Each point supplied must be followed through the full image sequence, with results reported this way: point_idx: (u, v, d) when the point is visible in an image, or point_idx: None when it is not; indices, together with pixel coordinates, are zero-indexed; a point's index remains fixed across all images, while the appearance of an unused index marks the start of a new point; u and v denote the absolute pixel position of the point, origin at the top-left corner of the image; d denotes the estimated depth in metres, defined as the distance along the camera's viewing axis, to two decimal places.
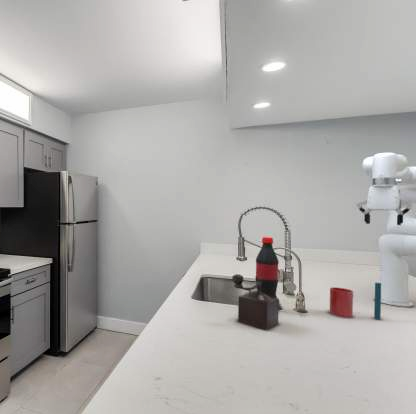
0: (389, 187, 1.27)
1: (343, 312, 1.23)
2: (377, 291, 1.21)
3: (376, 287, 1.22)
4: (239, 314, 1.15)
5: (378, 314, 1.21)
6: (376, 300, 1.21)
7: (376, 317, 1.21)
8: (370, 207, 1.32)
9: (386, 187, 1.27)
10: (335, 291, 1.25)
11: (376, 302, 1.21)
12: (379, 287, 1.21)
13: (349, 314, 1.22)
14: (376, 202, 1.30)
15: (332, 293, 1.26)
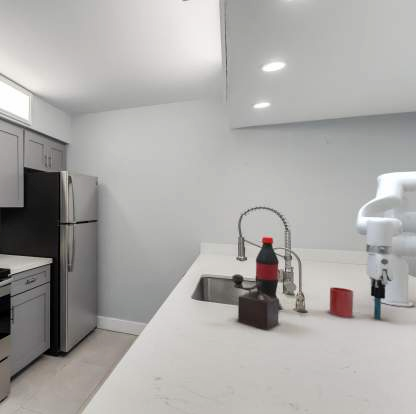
0: (373, 255, 1.21)
1: (343, 312, 1.23)
2: None
3: None
4: (239, 314, 1.15)
5: (378, 314, 1.21)
6: (376, 300, 1.21)
7: (376, 317, 1.21)
8: (367, 273, 1.26)
9: (372, 255, 1.22)
10: (335, 291, 1.25)
11: (376, 302, 1.21)
12: None
13: (349, 314, 1.22)
14: (368, 269, 1.24)
15: (332, 293, 1.26)
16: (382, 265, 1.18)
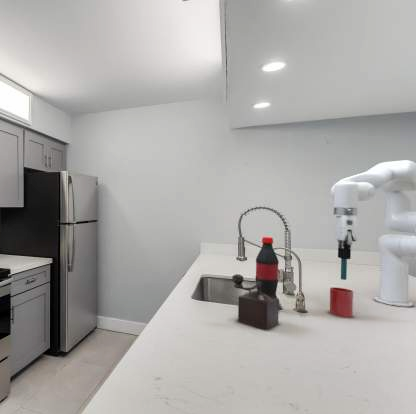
0: (339, 217, 1.25)
1: (343, 312, 1.23)
2: None
3: None
4: (239, 314, 1.15)
5: (344, 274, 1.25)
6: (342, 261, 1.25)
7: (342, 277, 1.25)
8: (335, 237, 1.30)
9: (338, 217, 1.26)
10: (335, 291, 1.25)
11: (342, 263, 1.25)
12: None
13: (349, 314, 1.22)
14: (336, 232, 1.28)
15: (332, 293, 1.26)
16: (347, 226, 1.22)
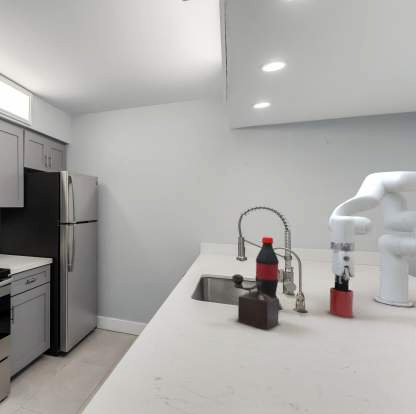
0: (336, 252, 1.25)
1: (343, 312, 1.23)
2: None
3: None
4: (239, 314, 1.15)
5: None
6: None
7: None
8: (332, 270, 1.30)
9: (335, 252, 1.26)
10: (335, 291, 1.25)
11: None
12: None
13: (349, 314, 1.22)
14: (333, 266, 1.29)
15: (332, 293, 1.26)
16: (344, 262, 1.22)
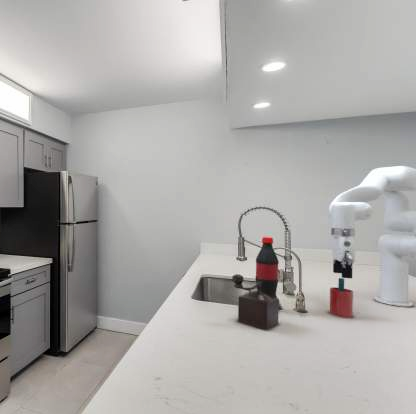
0: (337, 238, 1.25)
1: (343, 312, 1.23)
2: (340, 286, 1.26)
3: (339, 282, 1.26)
4: (239, 314, 1.15)
5: None
6: None
7: None
8: (333, 256, 1.30)
9: (336, 238, 1.26)
10: (335, 291, 1.25)
11: None
12: (342, 282, 1.25)
13: (349, 314, 1.22)
14: (334, 252, 1.29)
15: (332, 293, 1.26)
16: (345, 247, 1.22)
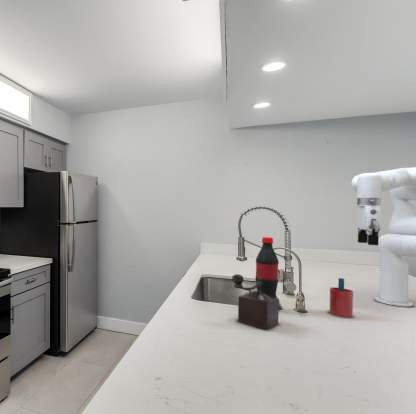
0: (363, 207, 1.30)
1: (343, 312, 1.23)
2: (340, 286, 1.26)
3: (339, 282, 1.26)
4: (239, 314, 1.15)
5: None
6: None
7: None
8: (358, 226, 1.35)
9: (362, 207, 1.30)
10: (335, 291, 1.25)
11: None
12: (342, 282, 1.25)
13: (349, 314, 1.22)
14: (359, 221, 1.33)
15: (332, 293, 1.26)
16: (371, 215, 1.26)
